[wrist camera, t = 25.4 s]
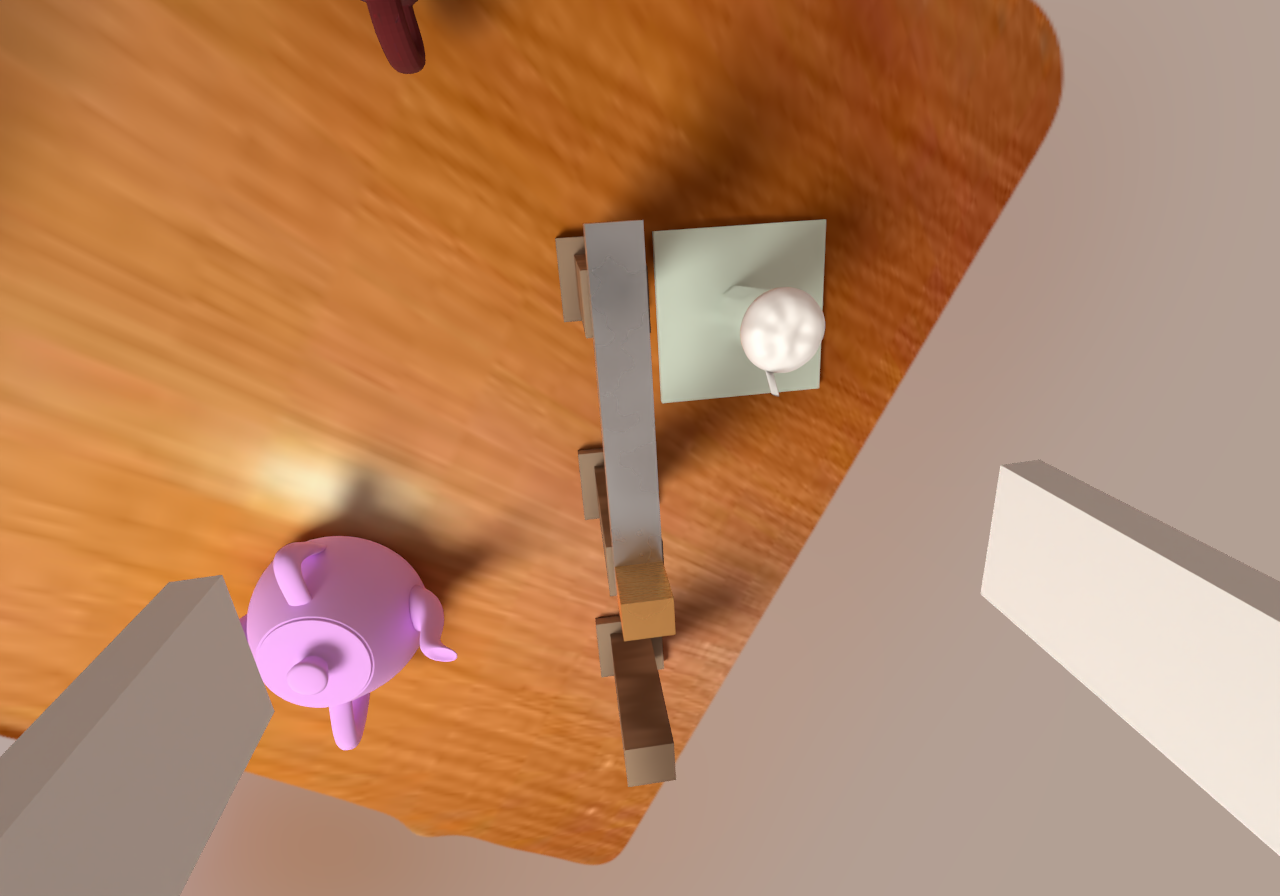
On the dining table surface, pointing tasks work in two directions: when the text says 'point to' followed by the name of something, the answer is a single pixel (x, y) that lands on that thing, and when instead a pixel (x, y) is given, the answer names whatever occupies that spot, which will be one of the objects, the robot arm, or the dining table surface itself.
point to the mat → (692, 289)
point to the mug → (398, 33)
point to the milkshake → (773, 326)
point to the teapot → (340, 626)
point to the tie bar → (628, 424)
